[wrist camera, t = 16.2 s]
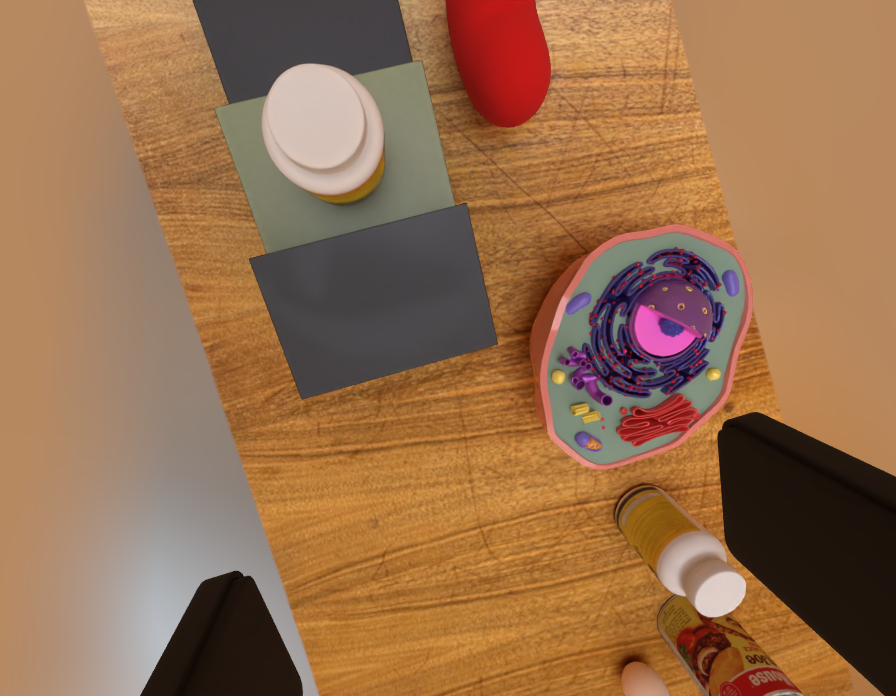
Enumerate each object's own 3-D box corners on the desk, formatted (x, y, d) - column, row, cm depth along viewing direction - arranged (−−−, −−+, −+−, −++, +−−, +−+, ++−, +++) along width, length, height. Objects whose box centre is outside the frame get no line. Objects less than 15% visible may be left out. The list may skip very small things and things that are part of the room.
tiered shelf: (325, 353, 37) (301, 400, 27) (201, -4, 30) (100, -135, 19) (467, 314, 38) (498, 344, 28) (382, -42, 31) (379, -189, 20)
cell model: (468, 387, 40) (499, 443, 29) (577, 189, 37) (658, 169, 26) (610, 452, 44) (683, 523, 33) (719, 279, 41) (840, 294, 30)
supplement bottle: (401, 177, 28) (410, 144, 18) (331, 222, 28) (301, 215, 18) (352, 94, 26) (332, 9, 17) (277, 143, 26) (212, 87, 17)
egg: (636, 643, 51) (672, 701, 45) (655, 664, 53) (693, 723, 46) (604, 667, 52) (635, 728, 45) (625, 687, 53) (657, 749, 47)
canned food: (729, 604, 52) (827, 709, 40) (686, 650, 53) (769, 765, 41) (688, 577, 50) (778, 680, 38) (644, 625, 51) (719, 739, 39)
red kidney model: (525, 136, 35) (577, 98, 25) (462, 154, 35) (491, 123, 25) (490, -30, 32) (535, -145, 22) (421, -11, 31) (436, -120, 22)
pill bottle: (600, 512, 46) (669, 601, 35) (645, 471, 45) (729, 548, 34) (635, 544, 47) (712, 639, 36) (679, 505, 47) (769, 589, 36)
